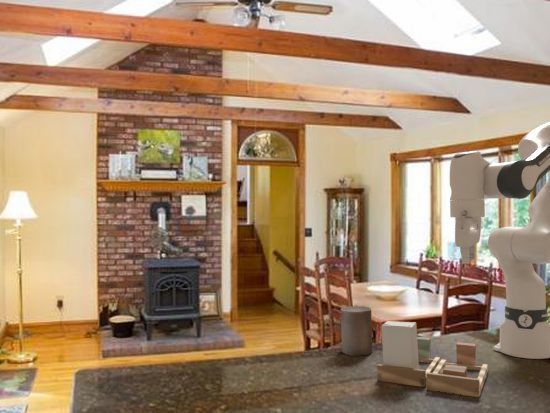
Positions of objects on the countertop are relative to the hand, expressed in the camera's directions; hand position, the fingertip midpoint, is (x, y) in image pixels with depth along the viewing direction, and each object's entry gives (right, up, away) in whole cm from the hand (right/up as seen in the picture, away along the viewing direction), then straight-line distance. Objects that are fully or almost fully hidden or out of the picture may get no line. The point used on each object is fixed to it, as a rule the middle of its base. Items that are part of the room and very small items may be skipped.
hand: (468, 261), depth 145 cm
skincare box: (-19, -31, -4) cm, 37 cm away
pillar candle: (-27, -31, +23) cm, 47 cm away
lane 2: (-3, -30, -3) cm, 31 cm away
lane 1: (-14, -31, +4) cm, 34 cm away
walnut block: (-7, -31, -11) cm, 33 cm away
